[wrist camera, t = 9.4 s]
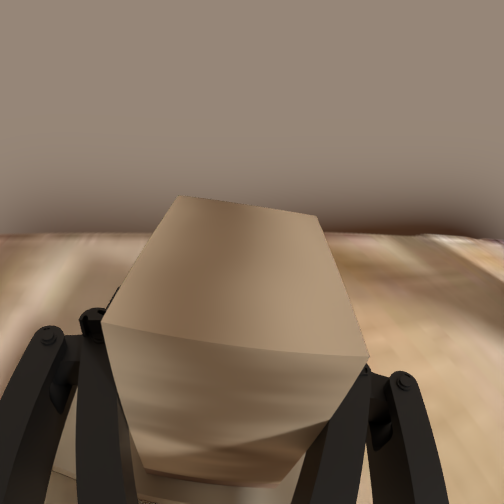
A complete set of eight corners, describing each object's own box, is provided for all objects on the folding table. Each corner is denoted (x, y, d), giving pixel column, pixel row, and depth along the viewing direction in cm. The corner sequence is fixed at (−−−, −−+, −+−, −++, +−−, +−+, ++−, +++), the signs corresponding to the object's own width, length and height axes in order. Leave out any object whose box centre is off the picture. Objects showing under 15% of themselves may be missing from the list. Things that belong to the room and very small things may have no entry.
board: (296, 363, 21) (302, 349, 20) (310, 514, 11) (320, 508, 10) (101, 332, 20) (98, 317, 19) (43, 466, 10) (32, 455, 10)
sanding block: (271, 367, 18) (316, 216, 13) (275, 488, 11) (369, 356, 6) (174, 353, 18) (178, 195, 13) (146, 472, 11) (101, 321, 6)
